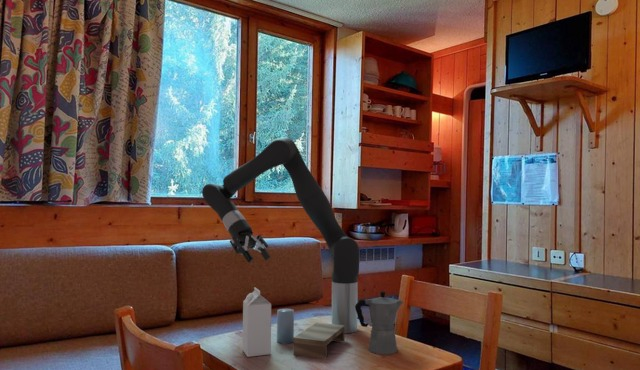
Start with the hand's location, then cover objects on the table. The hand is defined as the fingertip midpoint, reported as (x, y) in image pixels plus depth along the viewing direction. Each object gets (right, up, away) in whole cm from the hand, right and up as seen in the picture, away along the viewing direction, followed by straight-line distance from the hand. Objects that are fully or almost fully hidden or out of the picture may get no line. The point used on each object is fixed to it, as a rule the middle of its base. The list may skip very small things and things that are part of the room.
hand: (260, 259), depth 158 cm
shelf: (+21, -25, -14) cm, 36 cm away
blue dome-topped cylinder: (+9, -25, -8) cm, 28 cm away
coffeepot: (+39, -25, -17) cm, 50 cm away
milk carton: (+2, -25, -20) cm, 32 cm away
